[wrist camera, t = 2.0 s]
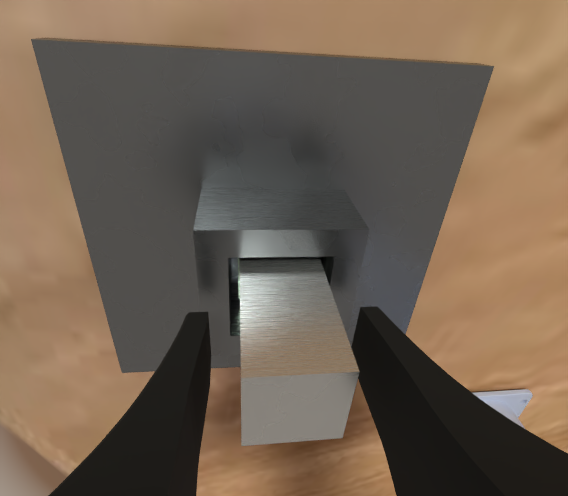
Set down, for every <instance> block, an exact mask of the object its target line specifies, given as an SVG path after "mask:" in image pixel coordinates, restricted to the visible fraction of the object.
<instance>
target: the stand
mask: <svg viewBox="0 0 568 496" xmlns="http://www.w3.org/2000/svg"><path fill="white" fill-rule="evenodd" d="M31 41H32V45H33V48H34V52H35V56H36V59H37V63H38V67H39V70H40V74H41V78H42V81H43V85H44V89H45V92H46V96H47V100H48V103H49V107H50V111H51V114H52V118H53V122H54V125H55V129H56V133H57V136H58V140H59V144H60V147H61V151H62V155H63V158H64V162H65V166H66V169H67V173H68V177H69V180H70V184H71V188H72V191H73V195H74V199H75V202H76V206H77V210H78V213H79V217H80V221H81V224H82V228H83V232H84V235H85V239H86V243H87V246H88V250H89V254H90V257H91V261H92V265H93V268H94V272H95V276H96V279H97V283H98V287H99V290H100V294H101V298H102V301H103V305H104V309H105V312H106V316H107V320H108V324H109V327H110V331H111V335H112V338H113V342H114V346H115V349H116V353H117V357H118V360H119V364H120V368H121V371H122V373H128V372H148V371H156V370H157V368H158V367H159V365H160V364H161V362H162V360H163V358H164V357H165V355H166V353H167V352H168V350H169V348H170V347H171V345H172V343H173V341H174V339H175V338H176V336H177V334H178V332H179V330H180V328H181V326H182V323H183V321H184V319H185V316H186V315H187V314H188V313H189V312H208V315H209V329H210V343H211V368H227V367H241V362H240V299H239V290H238V258H250V257H320V260H321V263H322V266H323V269H324V271H325V274H326V277H327V280H328V283H329V286H330V289H331V291H332V294H333V297H334V300H335V303H336V306H337V309H338V311H339V314H340V317H341V320H342V323H343V326H344V329H345V331H346V334H347V337H348V340H349V343H350V346H352V342H353V337H354V333H355V329H356V324H357V320H358V315H359V311H360V307H374V306H378V307H379V308H380V309H381V310H382V311H383V312H384V313H385V315H386V316H387V317H388V318H389V319H390V320H391V321H392V322H393V323H394V324H395V325H396V326H397V327H398V328H399V329H400V330H401V331H402V332H403V333H404V334H406V331H407V328H408V325H409V322H410V319H411V316H412V313H413V310H414V307H415V304H416V301H417V298H418V295H419V292H420V289H421V286H422V283H423V280H424V276H425V273H426V270H427V267H428V264H429V261H430V258H431V255H432V252H433V249H434V246H435V243H436V240H437V237H438V234H439V231H440V228H441V225H442V222H443V219H444V216H445V213H446V210H447V207H448V204H449V201H450V198H451V195H452V192H453V189H454V186H455V183H456V180H457V177H458V174H459V171H460V168H461V165H462V162H463V159H464V156H465V153H466V150H467V147H468V144H469V141H470V138H471V135H472V132H473V129H474V126H475V122H476V119H477V116H478V113H479V110H480V107H481V104H482V101H483V98H484V95H485V92H486V89H487V86H488V83H489V80H490V77H491V74H492V71H493V68H494V66H489V65H484V64H477V63H460V62H444V61H427V60H410V59H393V58H376V57H359V56H343V55H326V54H309V53H292V52H275V51H258V50H242V49H225V48H208V47H191V46H174V45H157V44H141V43H124V42H107V41H90V40H73V39H56V38H38V39H31Z"/></svg>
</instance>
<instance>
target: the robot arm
mask: <svg viewBox="0 0 568 496" xmlns="http://www.w3.org/2000/svg"><path fill="white" fill-rule="evenodd" d="M351 349H352V351H353V354H354V357H355V360H356V363H357V366H358V369H359V371H360V372H359V376H358V379H359V382H360V385H361V387H362V390H363V393H364V396H365V398H366V401H367V404H368V406H369V409H370V412H371V414H372V417H373V420H374V422H375V425H376V428H377V430H378V433H379V436H380V438H381V441H382V444H383V448H384V451H385V454H386V457H387V461H388V465H389V469H390V472H391V476H392V480H393V483H394V487H395V491H396V495H397V496H568V453H566V452H564V451H562V450H560V449H558V448H556V447H555V446H553V445H551V444H549V443H548V442H546V441H544V440H543V439H541V438H539V437H538V436H536V435H534V434H532V433H531V432H529V431H527V430H526V429H525V428H524V426H523V425H522V423H521V422H520V421H519V419H518V417H519V416H520V414H521V413H522V411H523V410H524V408H525V407H526V405H527V404H528V402H529V401H530V399H531V398H532V396H533V395H532V393H531V392H530V390H528V389H520V390H505V391H490V392H474V393H471V392H470V391H469V390H468V389H466V388H465V387H464V386H462V385H461V384H460V383H458V382H457V381H456V380H455V379H453V378H452V377H451V376H450V375H449V374H447V373H446V372H445V371H444V370H443V369H442V368H441V367H439V366H438V365H437V364H436V363H435V362H434V361H432V360H431V359H430V358H429V357H428V356H427V355H426V354H425V353H424V352H423V351H422V350H421V349H419V348H418V347H417V346H416V345H415V344H414V343H413V342H412V341H411V340H410V339H409V338H408V337H407V336H406V335H405V334H404V333H403V332H402V331H401V330H400V329H399V328H398V327H397V326H396V325H395V324H394V323H393V322H392V321H391V320H390V319H389V318H388V317H387V316H386V315H385V313H384V312H383V311H382V310H381V309H380V308H379V307H378V306H374V307H360V311H359V315H358V320H357V324H356V329H355V333H354V337H353V342H352V346H351ZM210 373H211V343H210V329H209V315H208V312H189V313H188V314H187V315H186V316H185V319H184V321H183V323H182V326H181V328H180V330H179V332H178V334H177V336H176V338H175V339H174V341H173V343H172V345H171V347H170V348H169V350H168V352H167V353H166V355H165V357H164V358H163V360H162V362H161V364H160V365H159V367H158V368H157V370H156V371H155V373H154V374H153V376H152V377H151V379H150V380H149V382H148V383H147V385H146V386H145V388H144V389H143V390H142V392H141V393H140V395H139V396H138V397H137V399H136V400H135V401H134V403H133V404H132V405H131V407H130V408H129V409H128V410H127V412H126V413H125V414H124V415H123V417H122V418H121V419H120V420H119V422H118V423H117V424H116V425H115V426H114V427H113V429H112V430H111V431H110V432H109V433H108V434H107V436H106V437H105V438H104V439H103V440H102V441H101V442H100V444H99V445H98V446H97V447H96V448H95V449H94V450H93V451H92V452H91V453H90V454H89V456H88V457H87V458H86V459H85V460H84V461H83V462H82V463H81V464H80V465H79V466H78V467H77V468H76V469H75V470H74V471H73V472H72V473H71V474H70V475H69V476H68V477H67V478H66V479H65V480H64V481H63V482H62V483H61V484H60V485H59V486H58V487H57V488H56V489H55V490H54V491H53V492H52V493H51V494H50V495H49V496H196V489H197V474H198V463H199V454H200V447H201V441H202V434H203V427H204V421H205V414H206V408H207V401H208V394H209V388H210Z"/></svg>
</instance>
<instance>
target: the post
mask: <svg viewBox="0 0 568 496" xmlns="http://www.w3.org/2000/svg"><path fill="white" fill-rule="evenodd" d="M238 290H239V299H240V362H241V444H242V446H248V445H261V444H274V443H286V442H299V441H312V440H325V439H337V438H343V434H344V430H345V426H346V422H347V419H348V415H349V411H350V407H351V403H352V399H353V395H354V391H355V387H356V383H357V380H358V376H359V372H360V371H359V369H358V366H357V363H356V360H355V357H354V354H353V351H352V349H351V346H350V343H349V340H348V337H347V334H346V331H345V329H344V326H343V323H342V320H341V317H340V314H339V311H338V309H337V306H336V303H335V300H334V297H333V294H332V291H331V289H330V286H329V283H328V280H327V277H326V274H325V271H324V269H323V266H322V263H321V260H320V257H250V258H238Z"/></svg>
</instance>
